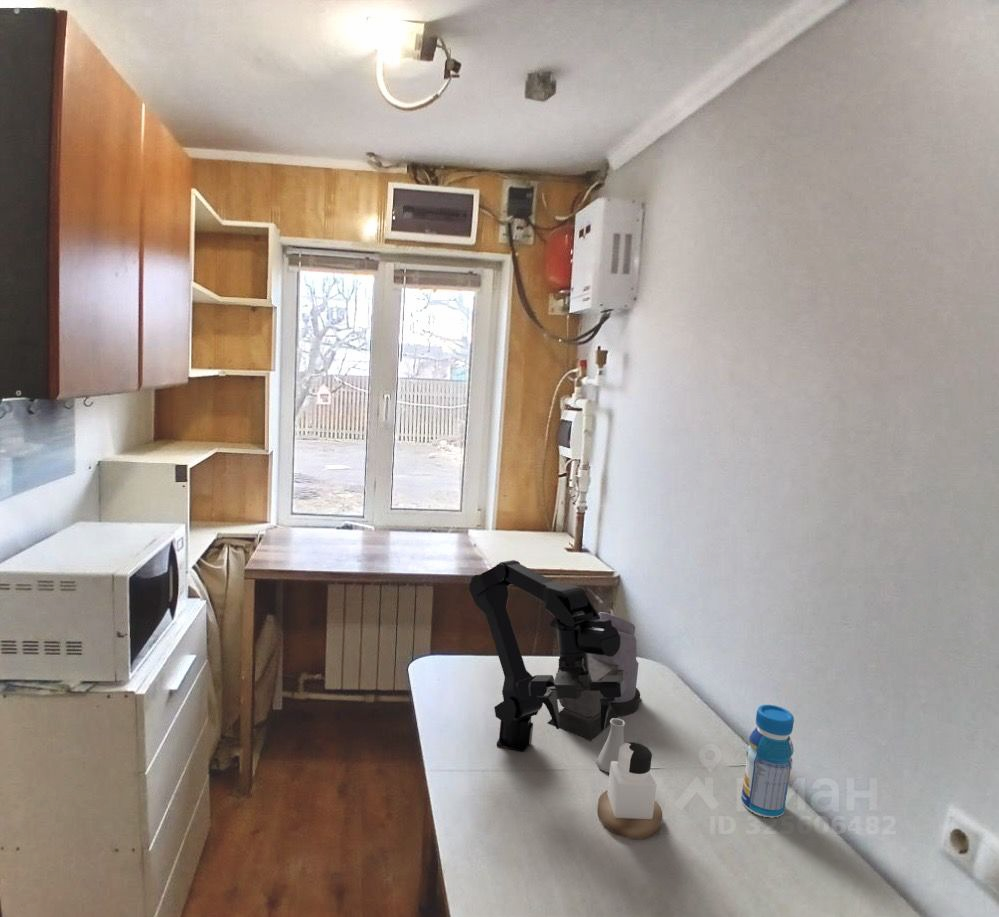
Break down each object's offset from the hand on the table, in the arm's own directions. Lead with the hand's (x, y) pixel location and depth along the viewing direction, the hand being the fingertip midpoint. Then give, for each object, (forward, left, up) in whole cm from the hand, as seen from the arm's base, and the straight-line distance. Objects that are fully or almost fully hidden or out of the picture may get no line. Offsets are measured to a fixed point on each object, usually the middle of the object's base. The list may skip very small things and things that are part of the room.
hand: (580, 729), depth 136 cm
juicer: (0, +33, -12) cm, 36 cm away
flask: (+6, +10, -12) cm, 17 cm away
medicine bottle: (+11, -6, -10) cm, 16 cm away
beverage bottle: (+36, +8, -12) cm, 39 cm away
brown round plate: (+11, -6, -12) cm, 18 cm away
